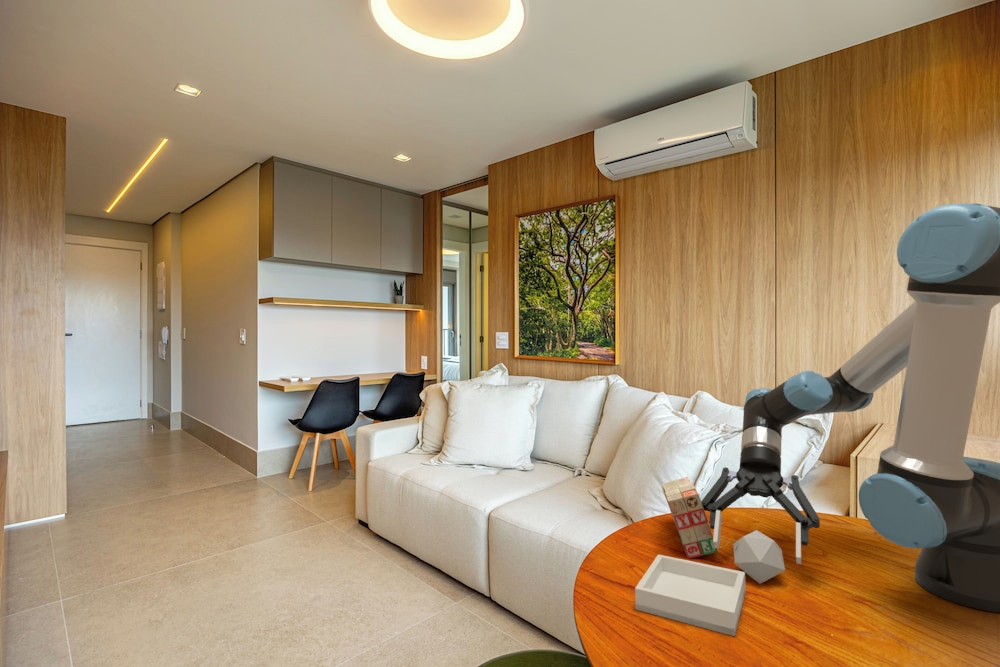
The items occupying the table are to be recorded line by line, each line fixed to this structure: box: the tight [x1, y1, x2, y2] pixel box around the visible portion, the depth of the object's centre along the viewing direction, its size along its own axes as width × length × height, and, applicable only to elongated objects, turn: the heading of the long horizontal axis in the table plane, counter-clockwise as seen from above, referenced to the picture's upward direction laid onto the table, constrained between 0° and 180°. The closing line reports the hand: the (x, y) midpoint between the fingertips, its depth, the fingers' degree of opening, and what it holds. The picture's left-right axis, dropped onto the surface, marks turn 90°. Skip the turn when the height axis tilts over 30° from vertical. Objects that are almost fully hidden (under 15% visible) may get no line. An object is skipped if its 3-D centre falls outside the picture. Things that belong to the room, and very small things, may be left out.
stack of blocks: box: [661, 476, 719, 560], centre depth 111 cm, size 21×6×12 cm, turn 168°
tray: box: [634, 554, 746, 637], centre depth 85 cm, size 15×15×4 cm
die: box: [733, 529, 786, 585], centre depth 93 cm, size 8×9×10 cm
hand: (755, 552), depth 92 cm, fingers open, 13 cm apart
